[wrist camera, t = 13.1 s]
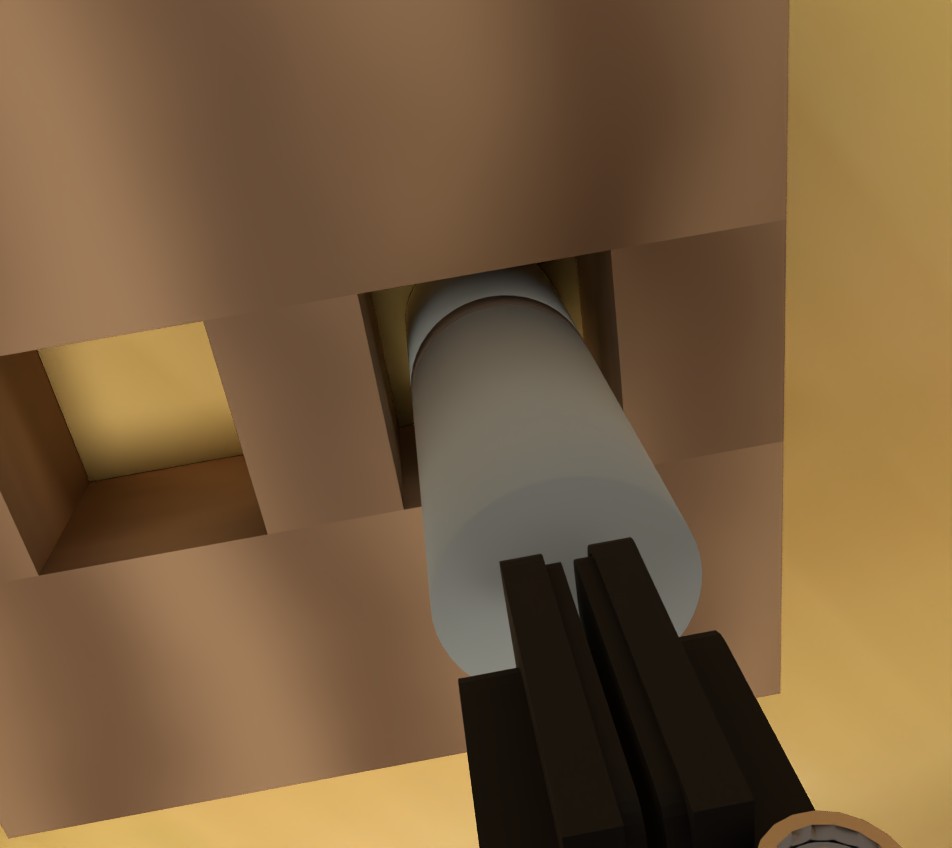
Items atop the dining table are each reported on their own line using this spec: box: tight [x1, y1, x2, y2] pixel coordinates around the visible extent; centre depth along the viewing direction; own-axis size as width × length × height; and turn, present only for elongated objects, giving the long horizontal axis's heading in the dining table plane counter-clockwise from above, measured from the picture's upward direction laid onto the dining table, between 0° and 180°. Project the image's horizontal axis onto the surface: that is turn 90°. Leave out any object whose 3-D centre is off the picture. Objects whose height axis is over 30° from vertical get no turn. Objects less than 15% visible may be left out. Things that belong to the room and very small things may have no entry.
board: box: [0, 0, 789, 838], centre depth 20 cm, size 20×20×4 cm
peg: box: [405, 263, 702, 676], centre depth 17 cm, size 4×4×11 cm
